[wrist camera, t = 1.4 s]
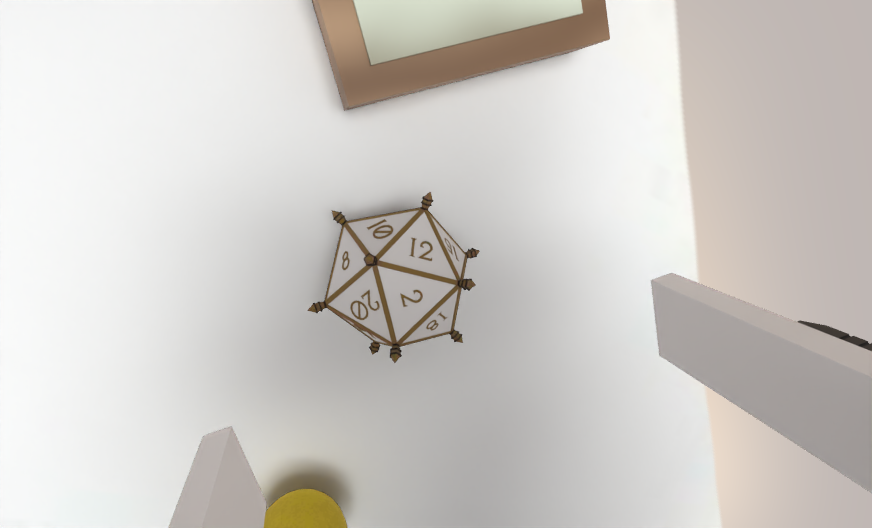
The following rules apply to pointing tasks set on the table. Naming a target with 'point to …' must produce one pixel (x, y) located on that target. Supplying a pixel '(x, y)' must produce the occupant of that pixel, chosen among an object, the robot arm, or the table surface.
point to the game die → (397, 278)
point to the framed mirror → (446, 40)
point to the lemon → (304, 511)
